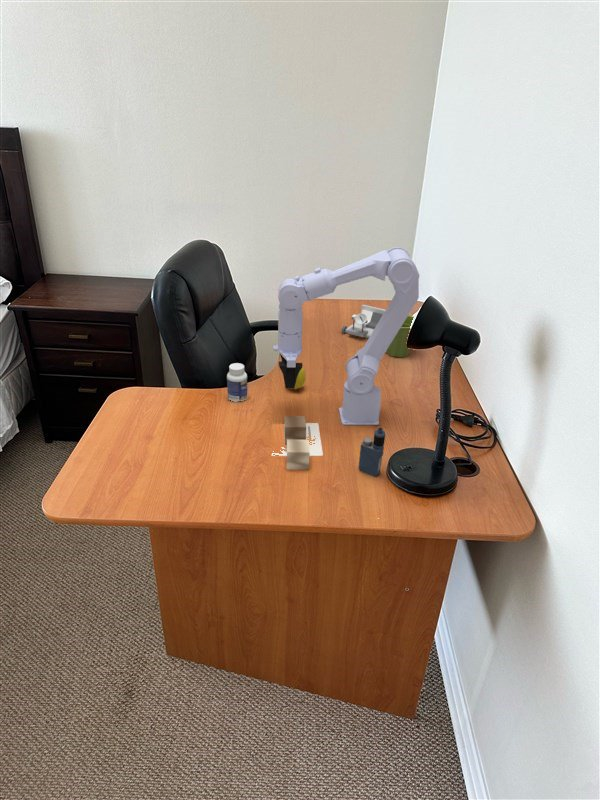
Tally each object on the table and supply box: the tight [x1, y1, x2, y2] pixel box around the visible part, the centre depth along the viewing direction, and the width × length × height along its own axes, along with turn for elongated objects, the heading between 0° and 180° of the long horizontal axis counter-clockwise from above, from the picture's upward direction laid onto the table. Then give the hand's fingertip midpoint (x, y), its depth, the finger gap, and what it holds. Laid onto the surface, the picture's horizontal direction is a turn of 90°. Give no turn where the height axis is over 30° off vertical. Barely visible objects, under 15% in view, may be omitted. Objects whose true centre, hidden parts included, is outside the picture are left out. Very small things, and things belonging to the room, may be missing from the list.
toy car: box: [340, 304, 386, 339], centre depth 192 cm, size 18×10×12 cm
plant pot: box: [385, 314, 415, 358], centre depth 178 cm, size 12×12×11 cm
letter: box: [271, 422, 324, 457], centre depth 136 cm, size 12×14×1 cm
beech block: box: [286, 439, 311, 471], centre depth 127 cm, size 5×5×5 cm
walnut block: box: [283, 415, 307, 445], centre depth 135 cm, size 5×5×5 cm
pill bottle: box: [226, 362, 248, 403], centre depth 150 cm, size 5×5×10 cm
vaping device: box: [358, 427, 386, 478], centre depth 123 cm, size 3×5×12 cm, turn 58°
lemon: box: [293, 366, 307, 390], centre depth 156 cm, size 6×6×8 cm
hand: (289, 380), depth 141 cm, fingers open, 7 cm apart
